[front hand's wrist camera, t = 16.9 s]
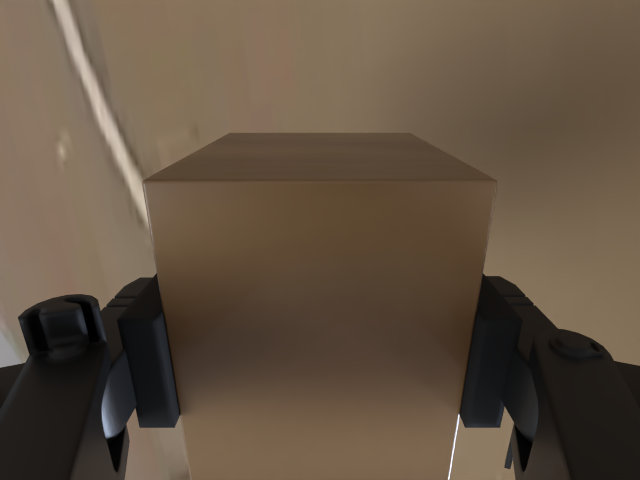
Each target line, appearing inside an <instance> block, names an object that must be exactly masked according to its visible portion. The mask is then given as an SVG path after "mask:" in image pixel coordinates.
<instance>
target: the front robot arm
mask: <svg viewBox="0 0 640 480" xmlns="http://www.w3.org/2000/svg"><path fill="white" fill-rule="evenodd" d="M18 319H19V323H20V326H21V329H22V332H23V335H24V338H25V342H26V345H27V348H28V351H29V354H30V355H29V357H28V359H27V361H26V363H23V364H18V365H13V366H7V367H2V368H0V480H124V479H125V472H126V464H127V456H128V449H129V435H128V430H127V425H126V423H127V421H128V419H129V418H130V416H131V414H132V412H133V411H134V409H135V408H136V412H137V417H138V422H139V426H140V428H175V425H176V423H177V421H178V418H179V416H180V412H179V406H178V399H177V393H176V387H175V381H174V375H173V369H172V363H171V357H170V350H169V344H168V338H167V332H166V326H165V320H164V314H163V308H162V301H161V295H160V289H159V283H158V277H157V273H156V275H155V276H154V277H153V278H139V279H137V280H135V281H133V282H132V283H130V284H128V285H126V286H124V287H123V288H122V290H121V291H120V292H119V293H118V294H117V295H116V296H115V299H112V300H111V301H110V302H109V303H108V304H107V307H104V308H103V309H102V310H101V311H100V307H99V303H98V300H97V299H96V298H94V297H93V296H90V295H83V294H75V295H65V296H60V297H55V298H51V299H49V300H46V301H43V302H40V303H38V304H36V305H34V306H32V307H30V308H29V309H27V310H25V311H24V312H23V313H22V314H21V315H20V316H19V317H18ZM504 406H505V407H506V409H507V411H508V413H509V414H510V416H511V418H512V420H513V421H514V425H513V430H512V434H511V438H510V443H509V447H508V452H507V456H506V461H505V467H504V468H508V469H510V468H511V463H512V461H513V463H514V471H515V478H516V480H640V366H637V365H632V364H627V363H621V362H617V361H614V360H613V358H612V356H611V355H610V353H609V352H608V351H607V350H606V349H605V348H604V347H603V346H602V345H601V344H599V343H598V342H596V341H594V340H593V339H591V338H589V337H586V336H584V335H582V334H579V333H576V332H572V331H568V330H564V329H558V328H557V327H556V326H555V325H554V324H553V323H552V322H551V321H550V320H549V319H548V318H547V317H546V316H545V315H544V314H543V313H542V312H541V311H540V310H539V309H538V308H537V307H536V306H534V305H533V303H532V302H531V300H530V299H529V298H528V297H525V294H524V293H523V292H522V291H521V290H520V289H519V288H518V287H517V286H516V285H515V284H513V283H511V282H509V281H507V280H505V279H504V278H502V277H500V276H485V275H484V274H482V281H481V287H480V293H479V299H478V305H477V311H476V317H475V324H474V330H473V336H472V342H471V348H470V354H469V360H468V367H467V373H466V379H465V385H464V391H463V397H462V403H461V409H460V417H461V419H462V421H463V424H464V426H465V428H500V425H501V420H502V416H503V411H504Z"/></svg>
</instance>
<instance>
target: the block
mask: <svg viewBox="0 0 640 480" xmlns="http://www.w3.org/2000/svg"><path fill="white" fill-rule="evenodd" d="M142 185H143V191H144V197H145V204H146V210H147V216H148V222H149V228H150V234H151V240H152V246H153V252H154V259H155V265H156V271H157V277H158V283H159V289H160V295H161V301H162V308H163V314H164V320H165V326H166V332H167V338H168V344H169V350H170V357H171V363H172V369H173V375H174V381H175V387H176V393H177V399H178V406H179V412H180V418H181V424H182V430H183V436H184V442H185V448H186V455H187V461H188V467H189V473H190V479H191V480H449V477H450V471H451V465H452V459H453V452H454V446H455V440H456V434H457V428H458V422H459V416H460V409H461V403H462V397H463V391H464V385H465V379H466V373H467V367H468V360H469V354H470V348H471V342H472V336H473V330H474V324H475V317H476V311H477V305H478V299H479V293H480V287H481V281H482V274H483V268H484V262H485V256H486V250H487V244H488V238H489V232H490V225H491V219H492V213H493V207H494V201H495V195H496V189H497V180H495V179H493V178H491V177H489V176H488V175H486V174H484V173H482V172H480V171H478V170H477V169H475V168H473V167H471V166H469V165H467V164H466V163H464V162H462V161H460V160H458V159H457V158H455V157H453V156H451V155H449V154H447V153H446V152H444V151H442V150H440V149H438V148H436V147H435V146H433V145H431V144H429V143H427V142H425V141H424V140H422V139H420V138H418V137H416V136H415V135H413V134H411V133H229V134H227V135H225V136H223V137H222V138H220V139H218V140H216V141H214V142H212V143H211V144H209V145H207V146H205V147H203V148H201V149H200V150H198V151H196V152H194V153H192V154H190V155H189V156H187V157H185V158H183V159H181V160H179V161H178V162H176V163H174V164H172V165H170V166H168V167H167V168H165V169H163V170H161V171H159V172H158V173H156V174H154V175H152V176H150V177H148V178H147V179H145V180H143V182H142Z"/></svg>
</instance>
